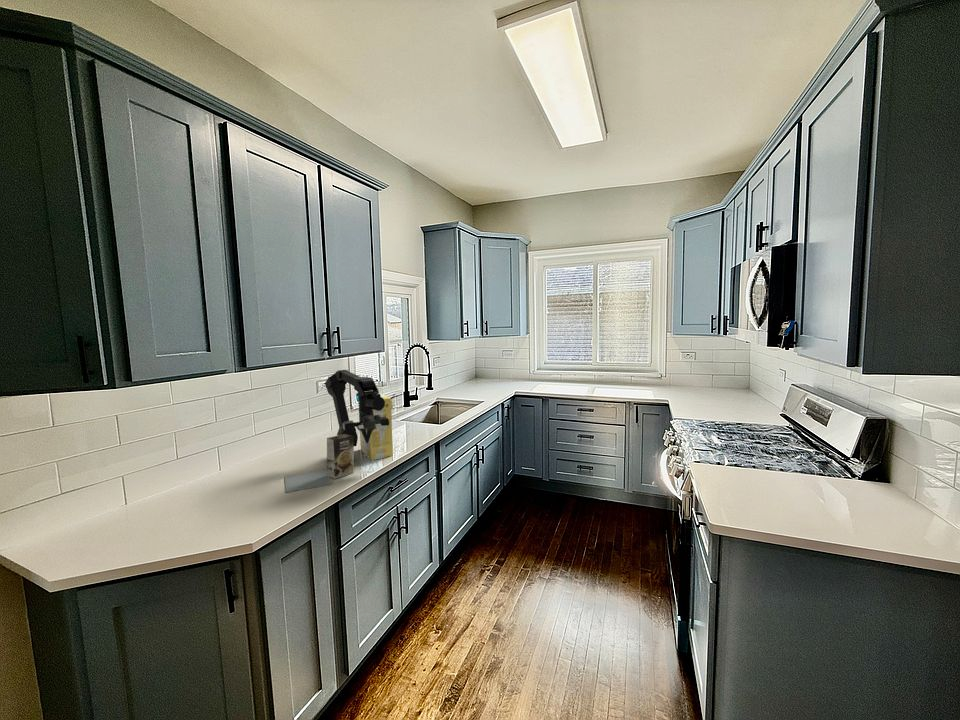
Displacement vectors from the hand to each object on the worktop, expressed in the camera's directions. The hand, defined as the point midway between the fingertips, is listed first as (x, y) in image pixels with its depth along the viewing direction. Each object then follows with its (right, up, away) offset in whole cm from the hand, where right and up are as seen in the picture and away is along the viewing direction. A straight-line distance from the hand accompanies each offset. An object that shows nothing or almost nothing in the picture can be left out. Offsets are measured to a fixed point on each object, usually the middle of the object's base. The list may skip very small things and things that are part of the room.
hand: (367, 442), depth 172 cm
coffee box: (-10, -13, -4) cm, 17 cm away
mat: (-22, -13, -10) cm, 27 cm away
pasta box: (-2, -10, +24) cm, 26 cm away
